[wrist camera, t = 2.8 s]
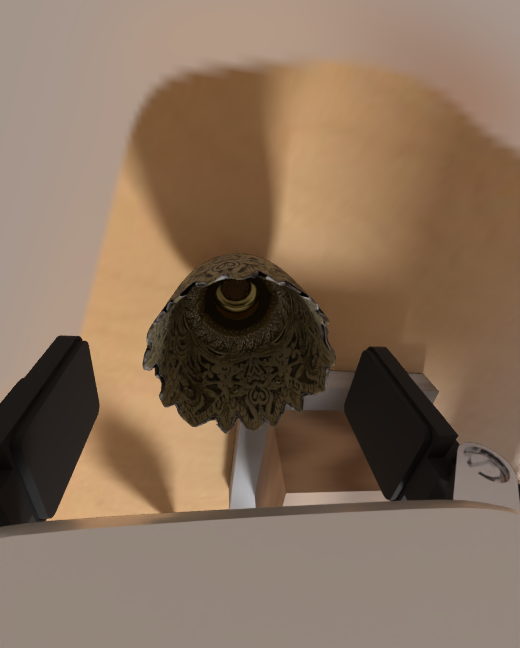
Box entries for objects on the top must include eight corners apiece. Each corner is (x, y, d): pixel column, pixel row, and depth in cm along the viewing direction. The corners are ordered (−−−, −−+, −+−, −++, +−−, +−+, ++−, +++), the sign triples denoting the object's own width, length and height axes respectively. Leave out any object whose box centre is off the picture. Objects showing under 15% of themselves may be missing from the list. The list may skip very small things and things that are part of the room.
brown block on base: (423, 374, 24) (504, 465, 17) (370, 485, 31) (413, 584, 24) (243, 367, 22) (252, 469, 15) (228, 489, 29) (230, 598, 22)
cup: (302, 327, 21) (341, 416, 14) (194, 349, 21) (179, 450, 14) (287, 213, 17) (331, 257, 10) (155, 240, 17) (109, 303, 10)
